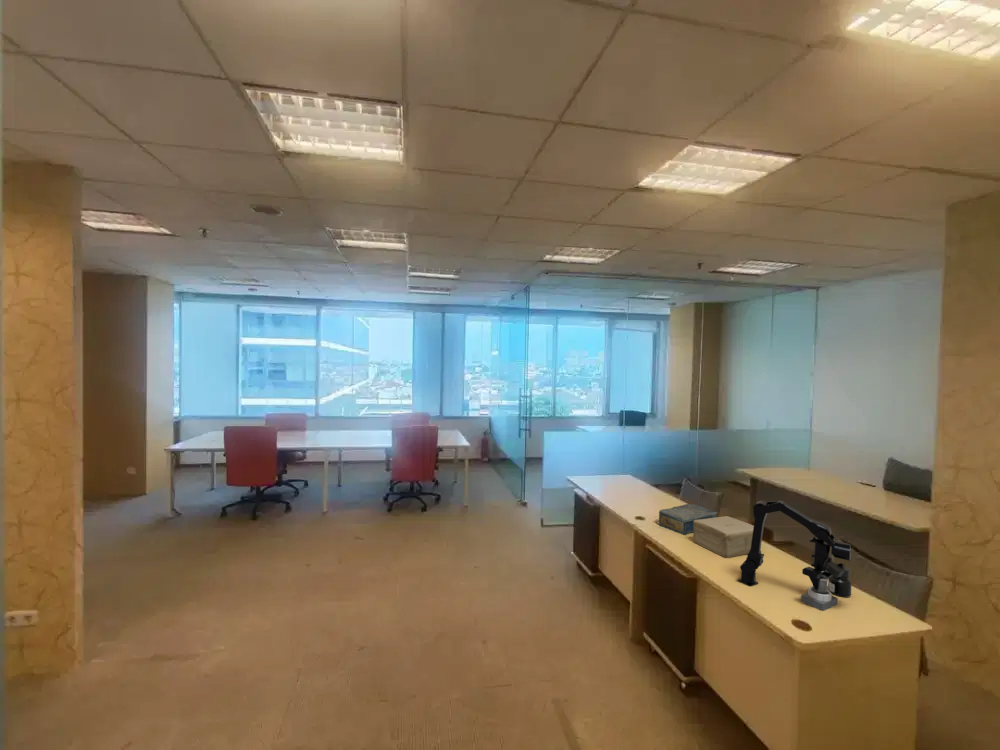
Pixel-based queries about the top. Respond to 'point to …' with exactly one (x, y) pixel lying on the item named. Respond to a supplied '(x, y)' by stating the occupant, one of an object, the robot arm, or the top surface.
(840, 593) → the ink bottle
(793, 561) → the top surface
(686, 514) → the metal box
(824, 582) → the lens
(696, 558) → the top surface
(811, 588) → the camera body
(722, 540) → the paper package
